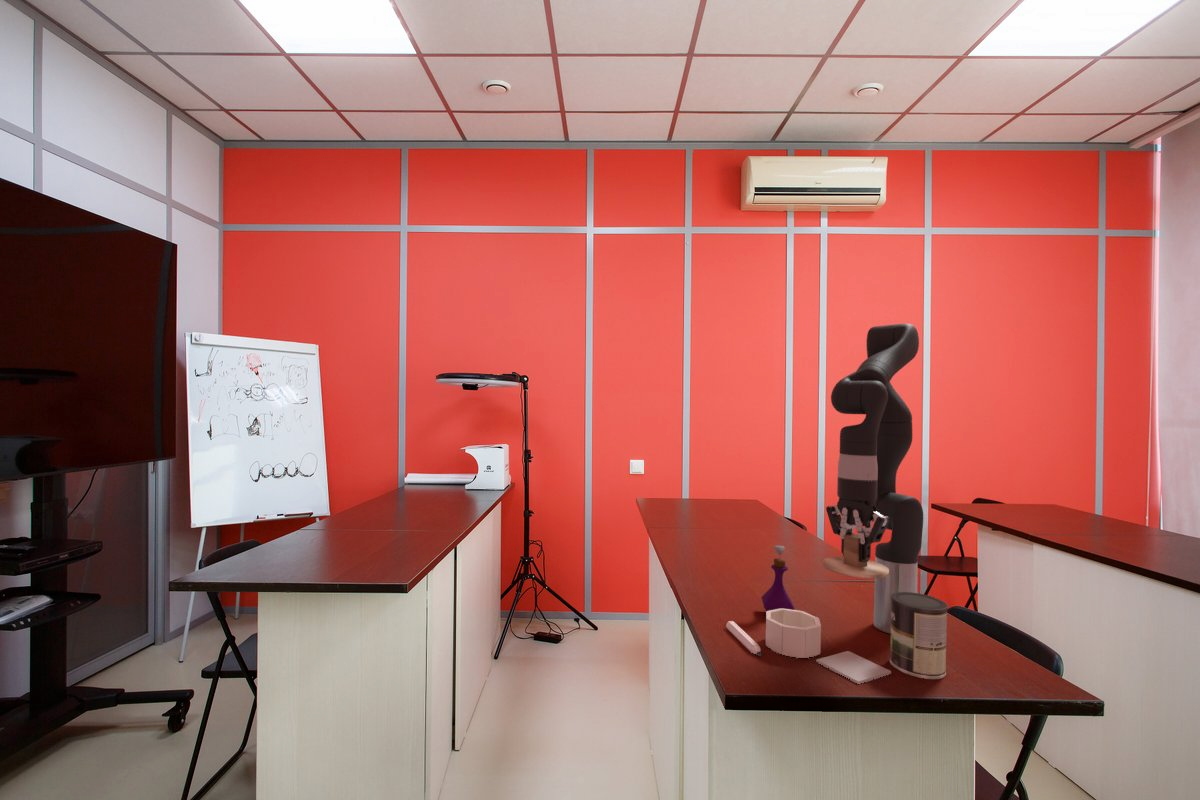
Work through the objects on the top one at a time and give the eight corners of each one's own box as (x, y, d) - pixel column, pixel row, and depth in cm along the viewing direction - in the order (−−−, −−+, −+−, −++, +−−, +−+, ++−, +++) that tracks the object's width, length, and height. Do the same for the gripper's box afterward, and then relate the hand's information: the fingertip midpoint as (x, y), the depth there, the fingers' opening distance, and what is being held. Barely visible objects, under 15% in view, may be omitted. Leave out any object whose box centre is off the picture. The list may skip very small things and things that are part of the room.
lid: (849, 557, 120) (849, 527, 120) (902, 573, 109) (903, 540, 109) (810, 563, 114) (810, 531, 115) (862, 581, 103) (862, 545, 104)
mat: (848, 653, 118) (848, 650, 118) (891, 674, 109) (891, 671, 109) (816, 662, 114) (816, 659, 114) (858, 684, 105) (858, 681, 105)
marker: (760, 664, 114) (729, 632, 130) (768, 658, 115) (736, 627, 130) (755, 653, 114) (724, 623, 130) (763, 648, 114) (731, 618, 130)
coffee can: (884, 668, 112) (886, 600, 112) (895, 651, 120) (896, 588, 120) (942, 685, 105) (944, 613, 106) (949, 667, 113) (951, 599, 114)
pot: (790, 633, 128) (791, 606, 129) (830, 652, 118) (831, 623, 118) (754, 641, 123) (755, 613, 123) (793, 662, 113) (794, 632, 113)
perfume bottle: (794, 623, 135) (796, 551, 135) (763, 619, 136) (765, 548, 136) (790, 612, 142) (792, 543, 142) (761, 609, 144) (762, 541, 144)
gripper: (900, 480, 108) (899, 566, 107) (840, 471, 120) (838, 549, 120) (876, 481, 104) (874, 570, 104) (817, 472, 117) (815, 552, 116)
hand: (855, 558), depth 112 cm, fingers closed on lid, 3 cm apart
